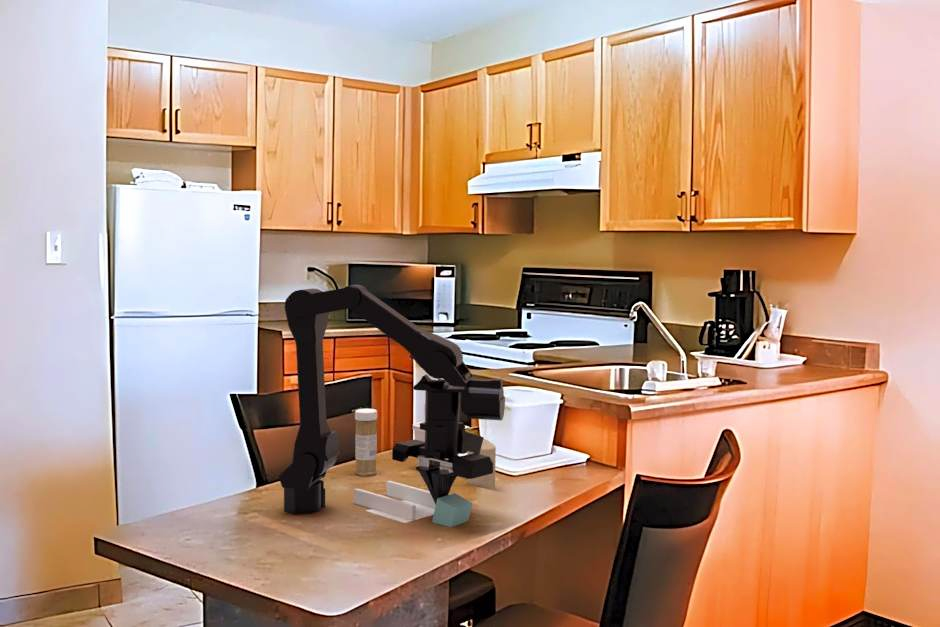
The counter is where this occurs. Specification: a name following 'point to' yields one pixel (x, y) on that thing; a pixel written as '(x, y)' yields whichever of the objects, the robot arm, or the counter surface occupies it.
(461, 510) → the block
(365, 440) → the sprinkles bottle
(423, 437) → the smoothie
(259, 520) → the counter surface
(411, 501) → the trough
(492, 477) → the tan upright block
